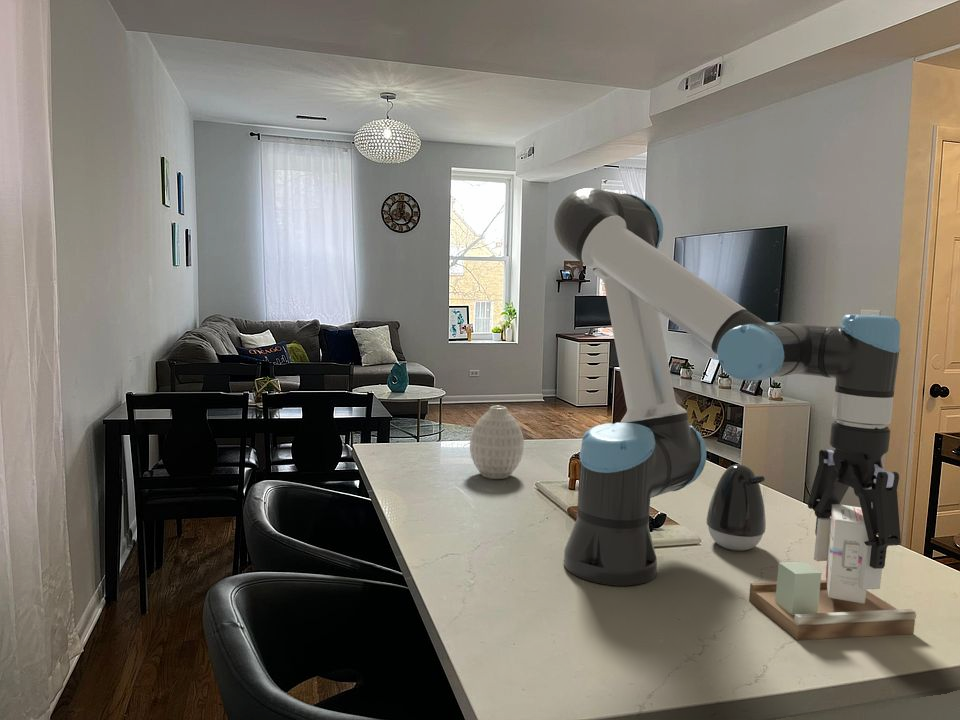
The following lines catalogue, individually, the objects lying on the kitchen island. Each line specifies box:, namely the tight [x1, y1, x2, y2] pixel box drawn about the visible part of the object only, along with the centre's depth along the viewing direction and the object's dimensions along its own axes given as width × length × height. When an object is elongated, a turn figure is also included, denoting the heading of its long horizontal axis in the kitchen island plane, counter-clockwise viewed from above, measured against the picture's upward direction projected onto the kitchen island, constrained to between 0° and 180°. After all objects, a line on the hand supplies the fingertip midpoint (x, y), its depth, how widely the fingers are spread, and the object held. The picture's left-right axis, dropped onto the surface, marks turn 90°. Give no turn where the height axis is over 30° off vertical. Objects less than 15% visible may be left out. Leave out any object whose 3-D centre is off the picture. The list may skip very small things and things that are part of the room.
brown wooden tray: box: [748, 579, 917, 641], centre depth 105 cm, size 18×12×3 cm
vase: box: [469, 405, 525, 480], centre depth 173 cm, size 13×13×17 cm
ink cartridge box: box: [825, 502, 873, 604], centre depth 106 cm, size 9×5×15 cm, turn 158°
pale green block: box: [775, 561, 822, 615], centre depth 103 cm, size 4×4×6 cm
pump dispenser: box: [705, 463, 767, 552], centre depth 132 cm, size 10×10×15 cm
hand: (845, 573), depth 107 cm, fingers closed on ink cartridge box, 9 cm apart
